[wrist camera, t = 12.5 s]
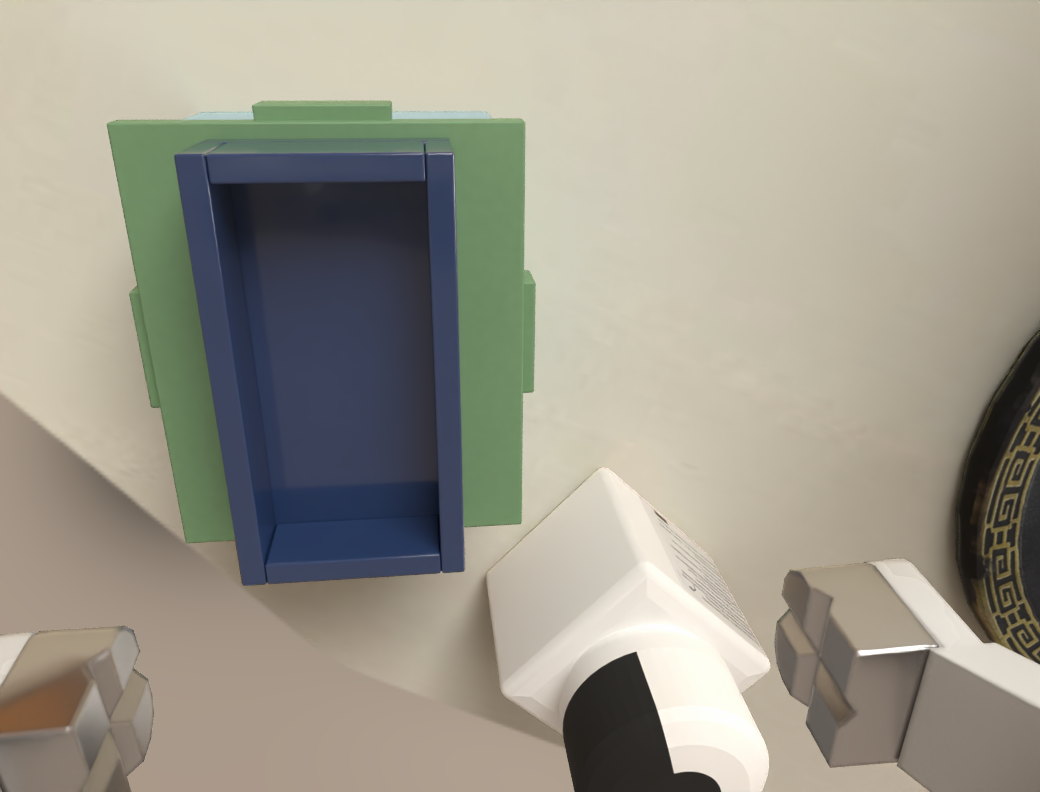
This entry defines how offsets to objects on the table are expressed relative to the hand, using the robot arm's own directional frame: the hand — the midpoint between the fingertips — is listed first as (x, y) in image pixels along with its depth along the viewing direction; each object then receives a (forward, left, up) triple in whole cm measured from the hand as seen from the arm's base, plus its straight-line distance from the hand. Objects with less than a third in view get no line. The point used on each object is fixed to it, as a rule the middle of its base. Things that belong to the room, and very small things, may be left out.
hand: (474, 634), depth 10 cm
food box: (+2, -3, -23) cm, 23 cm away
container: (+16, +7, -23) cm, 29 cm away
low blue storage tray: (+2, -3, -15) cm, 15 cm away
